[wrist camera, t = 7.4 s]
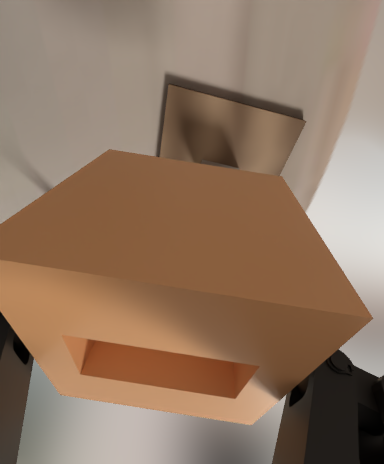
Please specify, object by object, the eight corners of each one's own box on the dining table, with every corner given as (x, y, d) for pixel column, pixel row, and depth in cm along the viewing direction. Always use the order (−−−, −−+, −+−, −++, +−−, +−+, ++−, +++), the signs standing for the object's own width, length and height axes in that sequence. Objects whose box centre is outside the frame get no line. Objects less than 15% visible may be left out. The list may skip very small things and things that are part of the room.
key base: (154, 204, 34) (143, 231, 28) (169, 83, 24) (157, 88, 18) (251, 226, 35) (259, 256, 29) (303, 119, 25) (329, 134, 20)
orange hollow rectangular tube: (121, 269, 16) (60, 395, 10) (109, 149, 11) (-42, 253, 5) (237, 287, 16) (251, 425, 10) (281, 176, 11) (373, 318, 5)
